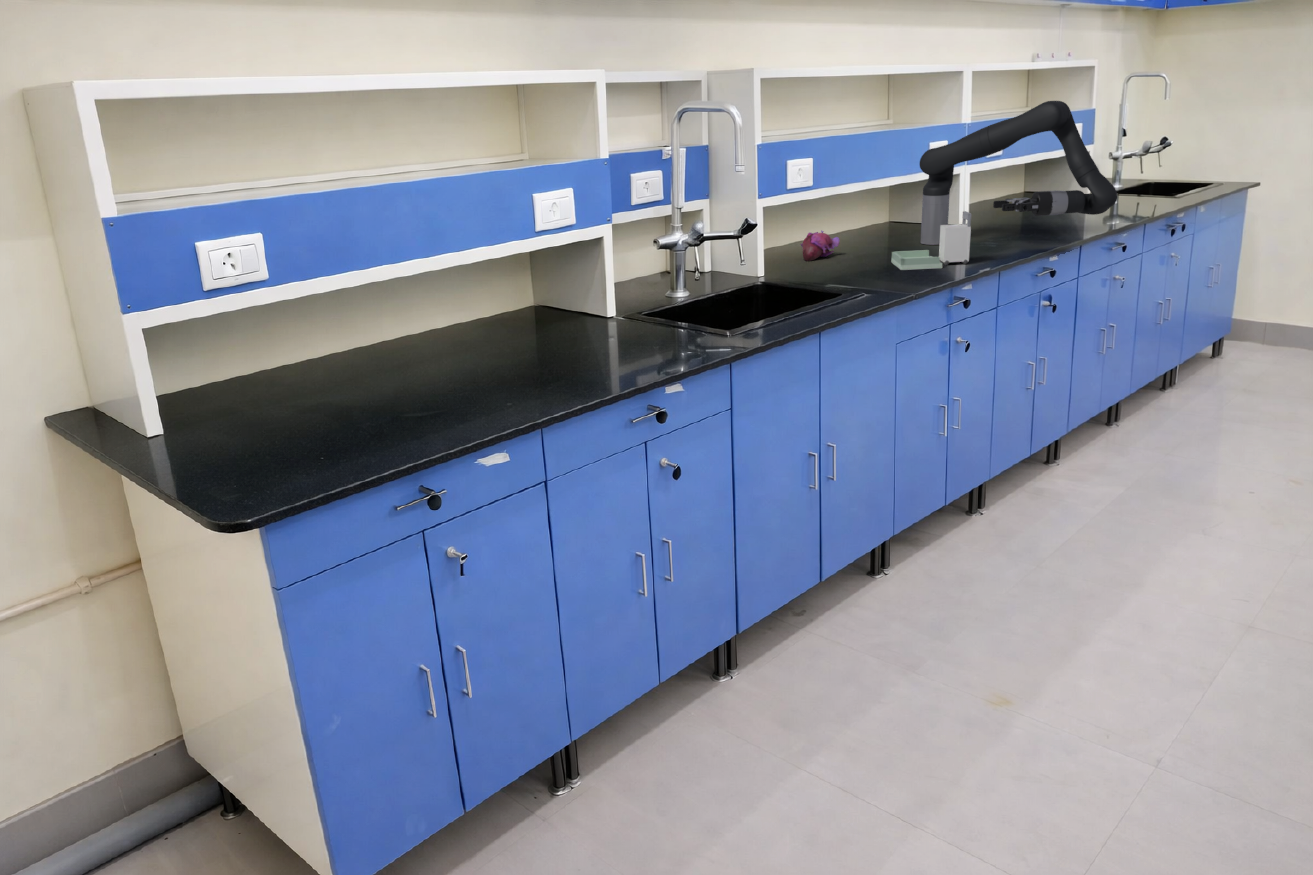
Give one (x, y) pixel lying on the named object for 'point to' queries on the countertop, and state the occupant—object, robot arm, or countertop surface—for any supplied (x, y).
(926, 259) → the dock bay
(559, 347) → the countertop surface
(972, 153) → the robot arm
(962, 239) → the grey box with feet
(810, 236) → the anatomical model
